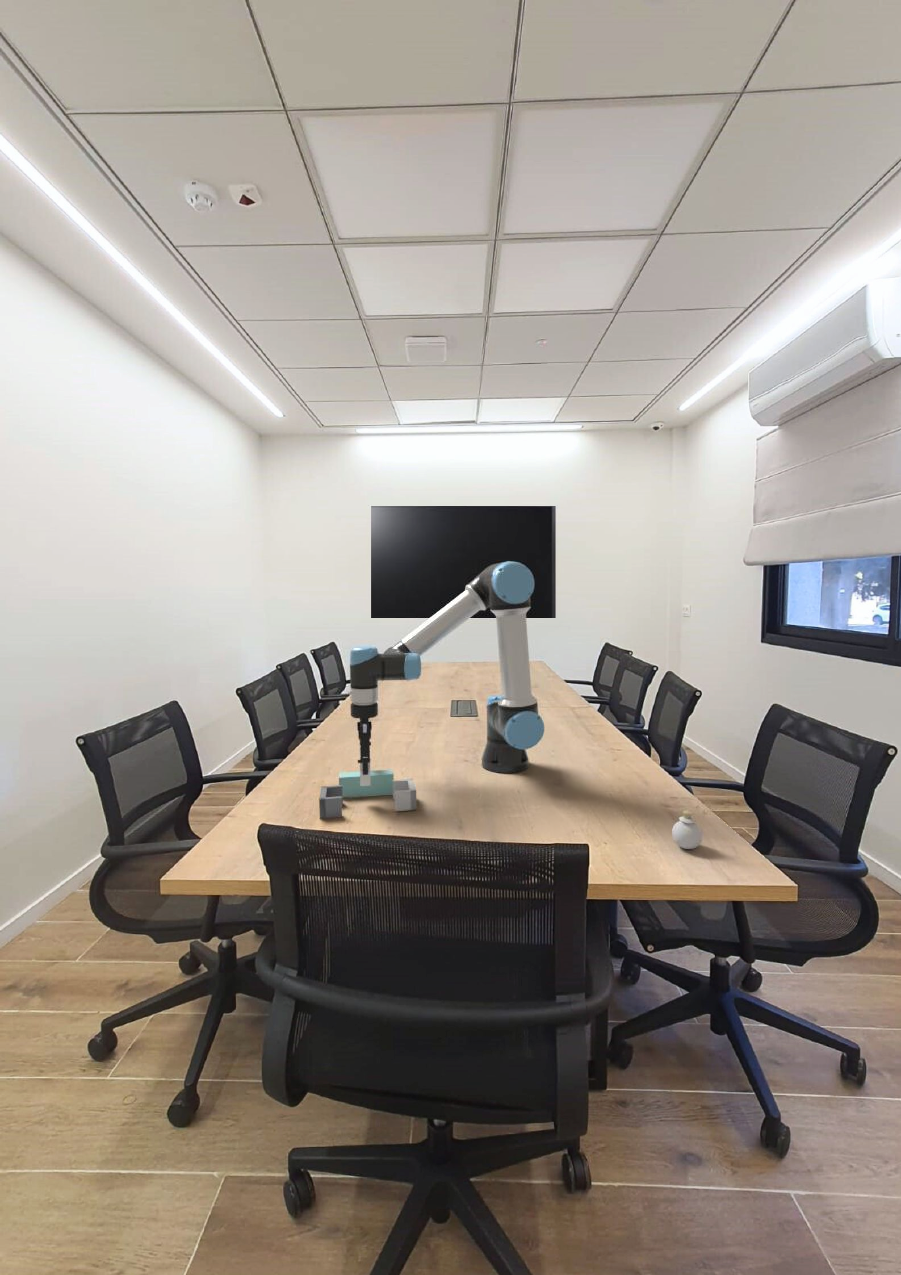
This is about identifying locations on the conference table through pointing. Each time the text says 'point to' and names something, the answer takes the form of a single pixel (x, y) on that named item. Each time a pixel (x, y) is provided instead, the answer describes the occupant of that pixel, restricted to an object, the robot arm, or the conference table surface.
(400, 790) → the sliding cap
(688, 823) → the ornament
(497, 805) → the conference table surface
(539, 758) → the conference table surface
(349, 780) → the block
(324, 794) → the cap
